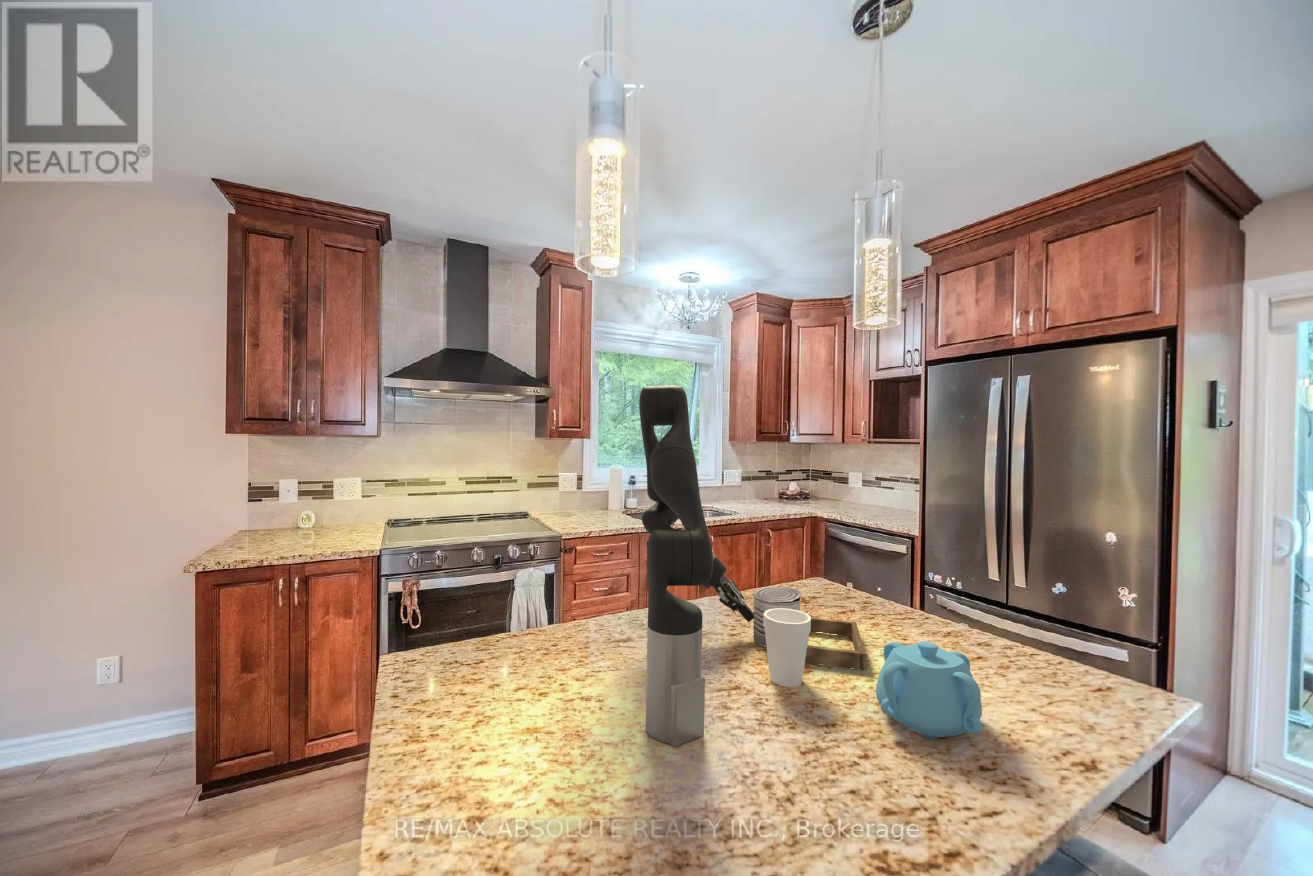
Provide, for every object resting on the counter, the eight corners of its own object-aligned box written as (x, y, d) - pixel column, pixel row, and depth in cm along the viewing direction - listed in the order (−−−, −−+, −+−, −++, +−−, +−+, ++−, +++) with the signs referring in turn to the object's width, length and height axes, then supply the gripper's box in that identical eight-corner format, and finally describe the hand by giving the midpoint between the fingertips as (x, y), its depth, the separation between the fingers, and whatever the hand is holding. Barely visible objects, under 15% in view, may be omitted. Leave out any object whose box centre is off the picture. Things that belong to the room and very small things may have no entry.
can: (806, 651, 119) (807, 599, 119) (758, 650, 118) (758, 598, 118) (793, 632, 130) (793, 585, 130) (748, 631, 130) (749, 584, 130)
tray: (770, 658, 114) (771, 642, 114) (775, 626, 134) (775, 613, 134) (865, 670, 109) (866, 654, 109) (855, 636, 128) (856, 622, 128)
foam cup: (805, 670, 108) (806, 609, 108) (814, 692, 99) (815, 625, 99) (760, 668, 109) (761, 607, 109) (764, 688, 100) (766, 622, 100)
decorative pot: (882, 690, 100) (883, 621, 101) (979, 713, 92) (979, 638, 92) (870, 730, 86) (871, 649, 87) (982, 761, 78) (983, 672, 78)
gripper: (710, 561, 122) (761, 618, 119) (718, 550, 135) (764, 601, 131) (688, 581, 123) (738, 638, 120) (698, 568, 136) (743, 619, 133)
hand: (752, 618), depth 126 cm, fingers closed
